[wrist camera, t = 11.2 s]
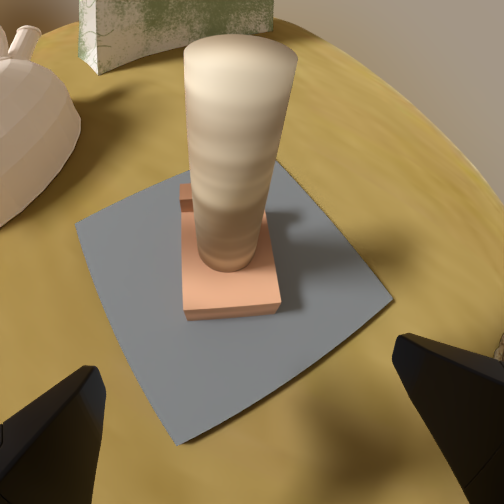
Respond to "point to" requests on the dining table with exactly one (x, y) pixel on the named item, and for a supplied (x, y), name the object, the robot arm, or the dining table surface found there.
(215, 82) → the cylinder on pink base
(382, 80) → the dining table surface
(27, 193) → the kettle
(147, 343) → the mat
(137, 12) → the grocery bag
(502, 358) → the bread roll
